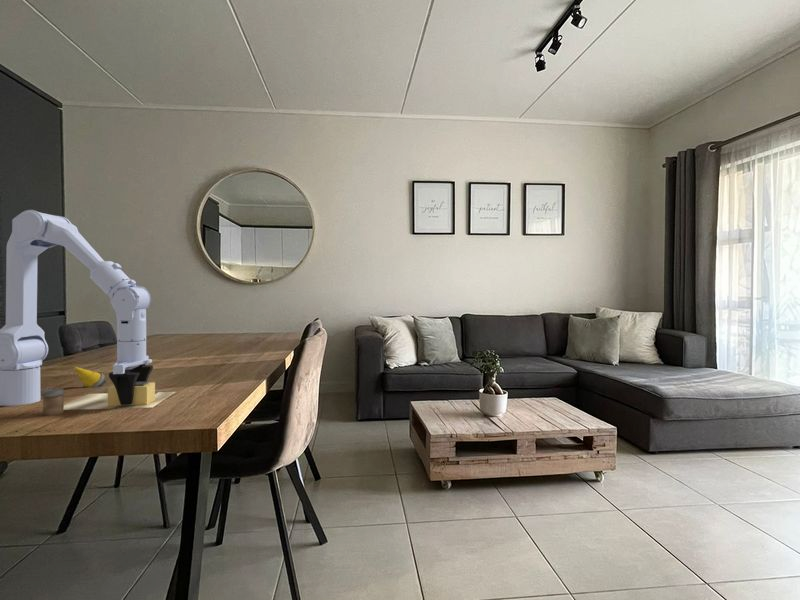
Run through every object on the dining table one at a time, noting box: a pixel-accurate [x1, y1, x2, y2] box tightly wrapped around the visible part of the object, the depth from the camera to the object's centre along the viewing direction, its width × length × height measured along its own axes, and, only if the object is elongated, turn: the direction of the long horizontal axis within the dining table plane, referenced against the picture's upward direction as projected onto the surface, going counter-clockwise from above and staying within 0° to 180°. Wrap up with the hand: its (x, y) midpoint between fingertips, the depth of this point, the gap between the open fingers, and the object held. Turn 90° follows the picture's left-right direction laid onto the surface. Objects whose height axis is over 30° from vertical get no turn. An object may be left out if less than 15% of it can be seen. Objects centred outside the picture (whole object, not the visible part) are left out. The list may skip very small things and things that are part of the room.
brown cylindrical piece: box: [41, 387, 65, 417], centre depth 98 cm, size 4×4×6 cm
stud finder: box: [107, 381, 156, 406], centre depth 108 cm, size 8×5×4 cm, turn 98°
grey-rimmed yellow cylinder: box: [73, 366, 107, 388], centre depth 126 cm, size 5×5×10 cm
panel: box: [64, 391, 176, 411], centre depth 111 cm, size 20×16×1 cm
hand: (132, 400), depth 108 cm, fingers open, 6 cm apart
